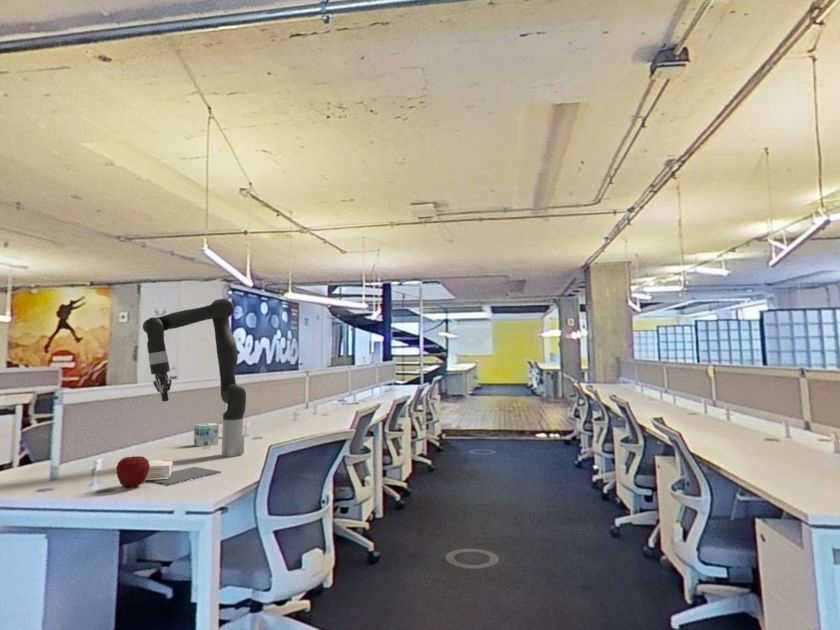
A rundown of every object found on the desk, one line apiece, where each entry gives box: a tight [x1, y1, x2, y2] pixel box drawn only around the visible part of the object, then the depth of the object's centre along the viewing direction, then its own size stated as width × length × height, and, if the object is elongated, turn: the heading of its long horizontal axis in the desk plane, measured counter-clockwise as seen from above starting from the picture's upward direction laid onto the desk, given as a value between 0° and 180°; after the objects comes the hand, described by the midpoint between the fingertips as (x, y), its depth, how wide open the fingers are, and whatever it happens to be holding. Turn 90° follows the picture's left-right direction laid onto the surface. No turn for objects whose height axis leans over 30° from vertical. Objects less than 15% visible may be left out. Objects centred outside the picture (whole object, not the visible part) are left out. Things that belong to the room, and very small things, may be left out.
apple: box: [115, 455, 150, 489], centre depth 196 cm, size 11×11×12 cm
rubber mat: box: [145, 466, 222, 486], centre depth 212 cm, size 24×16×1 cm, turn 152°
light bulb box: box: [193, 422, 220, 447], centre depth 281 cm, size 11×7×11 cm, turn 137°
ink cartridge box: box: [145, 459, 174, 480], centre depth 210 cm, size 9×5×15 cm
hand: (165, 401), depth 235 cm, fingers closed
